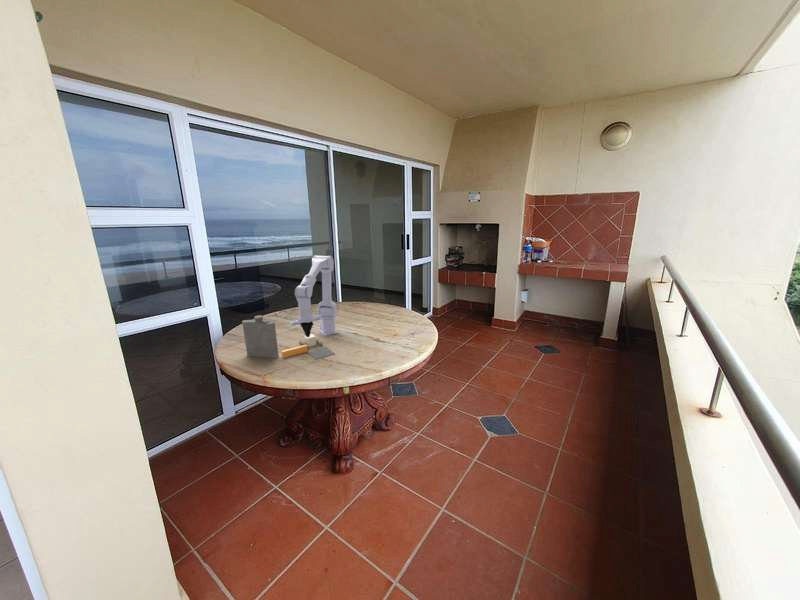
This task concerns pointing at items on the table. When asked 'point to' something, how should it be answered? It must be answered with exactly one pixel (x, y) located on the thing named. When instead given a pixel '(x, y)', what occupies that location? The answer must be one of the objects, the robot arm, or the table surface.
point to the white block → (310, 340)
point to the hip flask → (260, 338)
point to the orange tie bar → (294, 351)
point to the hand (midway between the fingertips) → (307, 336)
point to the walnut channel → (307, 345)
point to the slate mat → (321, 353)
